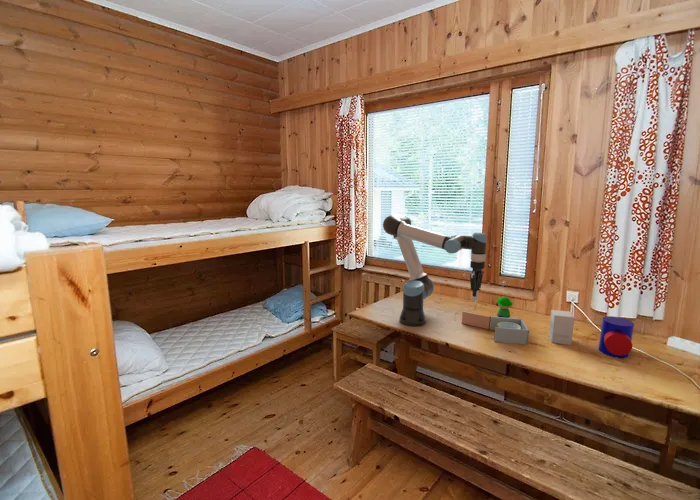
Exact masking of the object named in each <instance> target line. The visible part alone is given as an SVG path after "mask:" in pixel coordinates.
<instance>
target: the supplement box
mask: <svg viewBox="0 0 700 500" xmlns="http://www.w3.org/2000/svg"><path fill="white" fill-rule="evenodd" d="M574 324H575V316H574V315H573V314H572V312H571V311H566V310H556V309H551V310H550V320H549V329H548V330H549V331H548V338H549V341H550V342H551V343H552V344H559V345H569V346H572V341H573V333H574Z"/></svg>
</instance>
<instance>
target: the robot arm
mask: <svg viewBox="0 0 700 500" xmlns="http://www.w3.org/2000/svg"><path fill="white" fill-rule="evenodd" d="M382 227H383V231H384V232H385V233H386V234H388V235H390V236H393V239H395V240H397V243H398V247H399V249H400V251H401V254H402V257H403V259H404V262H405V265H406V269H407V272H408V274H409V279H408V281H406V282H404V284H403V289H402V293H403V294H402V297H403V299H402V310H401V313H400V315H399V322H400V323H401V324H402V325H405V326H409V327H420V326H423V325H425V324H426V323H427V322H426V321H427V319H426V315H425V312H424V301H425V299H427V298H429V296H431V295H432V294H433V292H434V290H435V285H434V282H433V280H432V279H431V278H430V277H429V275H428V273H426V272H424V269H423V266H422V263H421V261H420V258H419V256H418V253H417V250H416V247H415V245H414V244H415V243H414V241H416V242H418V243H422V244H425V245H428V246H431V247H435V248H438V249H442V250H444V251H445V252H446V253H449V254H450V255H451V254H456V253H458V252H459V251H461V250H470V251H471V252H470V265H469V267H470V268H471V269H472V271H471V274H469V282H470V290H471V291H472V297H471V301H472V302H475V303H477V302H479V291H481V287H482V281H483V276H484V273H485V271H484V270H483V269H485V266H486V265H485V264H486V262H485V261H486V258H487V256H486V251H487V243H488V241H487V237H488V236H487V233H484V232H473V233H472V235H463V234H451V235H450V236H448V235H445V234H441V233H438V232H435V231H432V230H428V229H424V228H421V227H419V226H414V225H412V220H411V218H410V216H408V215H407V214H405V213H396V214H391V215H388V216H386V217H385V218H384V219H383V223H382Z"/></svg>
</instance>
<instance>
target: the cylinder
mask: <svg viewBox="0 0 700 500" xmlns="http://www.w3.org/2000/svg"><path fill="white" fill-rule="evenodd" d="M634 329H635V323H634V322H633V321H631V320H629V319H626V318H623V317H619V316H611V315H610V316H604V317H602V322H601V326H600V336H599V341H598V351H599V352H600V353H601V352H602V353H601V354H603V353H604V354H603V355H605V354H606V356H608V355H609V356H608V357H611V356H612V357H611V358H615V357H618V358H617V359H626V358H625V357H628V356H629V357H630V353H631V351H632V350H633V343H632V341H633V335H634ZM629 357H628V358H629Z"/></svg>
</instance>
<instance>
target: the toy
mask: <svg viewBox="0 0 700 500" xmlns="http://www.w3.org/2000/svg"><path fill="white" fill-rule="evenodd" d="M495 303H496V305H495V306H496V307H499V309H498V310H497V313H496V314H497V315H496V316H497V317H504V318H511V312H510V309H509V308H510V307H512V306H513V305H514V303H513V301H512V300H511V299H510V298H509V297H508V296H501V297H499V298H496V302H495Z"/></svg>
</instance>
